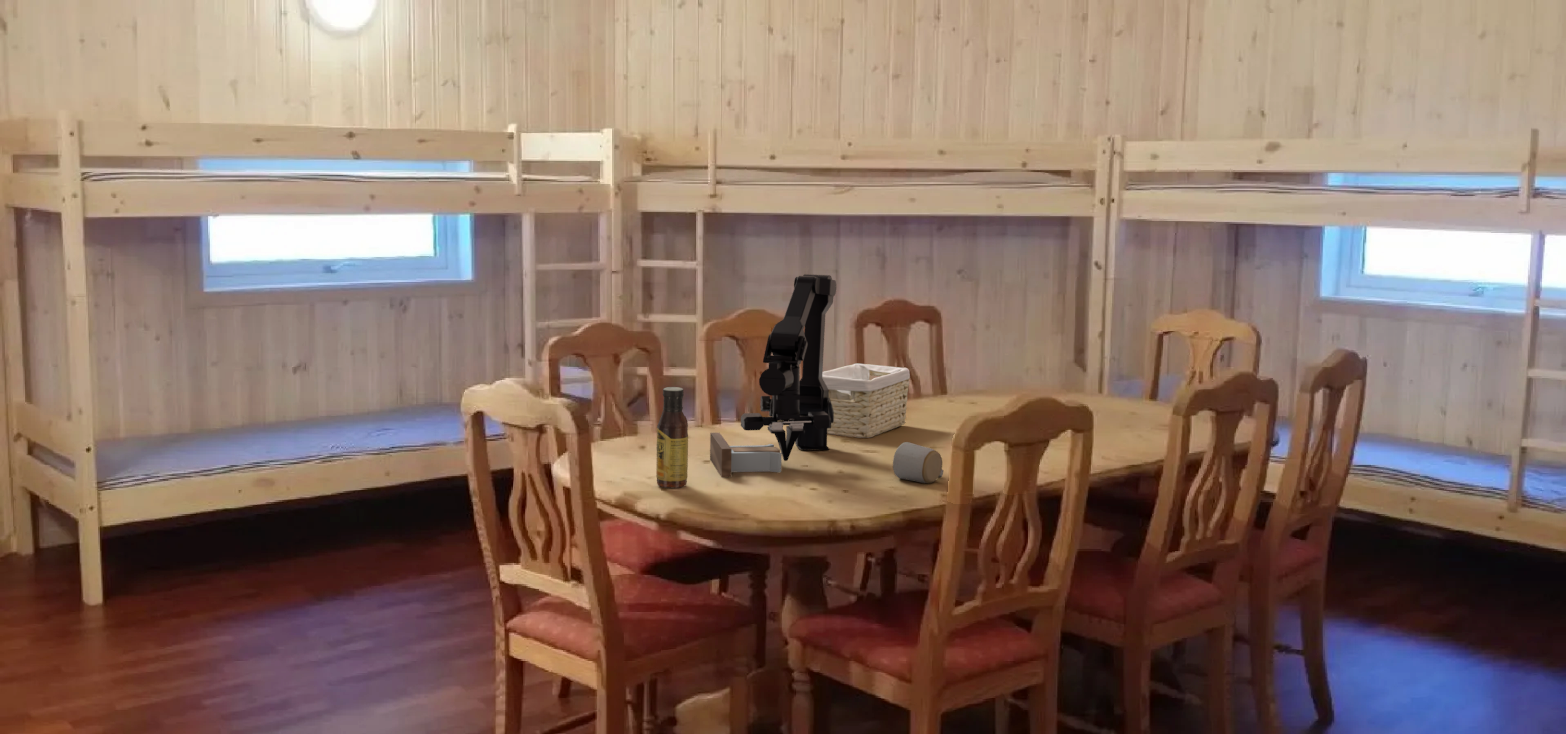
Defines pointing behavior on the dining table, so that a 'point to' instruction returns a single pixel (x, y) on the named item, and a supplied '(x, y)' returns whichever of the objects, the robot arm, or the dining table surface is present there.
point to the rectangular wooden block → (756, 449)
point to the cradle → (755, 460)
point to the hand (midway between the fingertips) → (785, 460)
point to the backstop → (720, 454)
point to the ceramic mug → (917, 463)
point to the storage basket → (867, 399)
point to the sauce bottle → (672, 441)
